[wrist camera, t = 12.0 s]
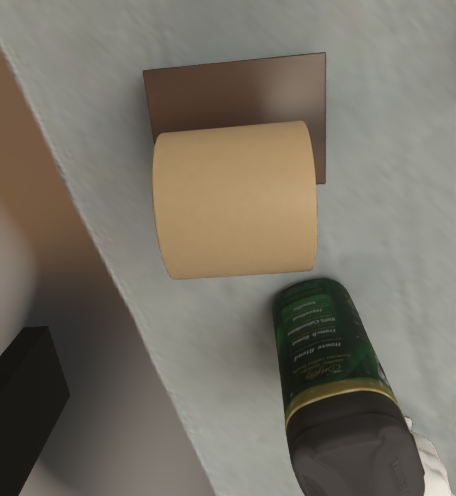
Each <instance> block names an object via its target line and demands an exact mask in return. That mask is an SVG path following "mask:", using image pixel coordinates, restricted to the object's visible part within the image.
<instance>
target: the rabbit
mask: <svg viewBox="0 0 456 496" xmlns="http://www.w3.org/2000/svg"><path fill="white" fill-rule="evenodd" d="M404 418H405V421H406V423H407V425H408V428H409V430H411V428H412V422H411V420H410V419H409V418H407V417H404ZM410 432H411V433H412V434H413V436H414V438H415V442H416V445H417V449H418V452H419V455H420V459H421V462H422V465H423V468H424V471H425V475H424V481H425V492H424V496H455V495H454V494H452V493H451V491H450V487H449V483H448V478H447V471H446V469H445V467H444V465H443V463H442V462H441V460H440V459H439V458H438V457H437V453H436V450H435V448H434V446H433V445H432V443H431V442H430V441H429V440H427V439H426V438H425V437H424V436H422V435H420V434H418V433H416V432H412V431H410Z"/></svg>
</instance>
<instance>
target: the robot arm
mask: <svg viewBox="0 0 456 496" xmlns="http://www.w3.org/2000/svg"><path fill="white" fill-rule="evenodd" d="M69 397H70V393H69V390H68V387H67V384H66V381H65V378H64V375H63V371H62V368H61V365H60V362H59V359H58V356H57V353H56V350H55V346H54V343H53V340H52V337H51V334H50V331H49V328H48V326H42V327H24V328H23V329H22V330H21V331H20V333H19V334H18V335H17V336H16V338H15V339H14V340H13V341H12V342H11V344H10V345H9V346H8V347H7V349H6V350H5V351H4V352H3V353H2V355H1V356H0V496H18V495H19V493H20V492H21V490H22V488H23V486H24V484H25V482H26V480H27V478H28V476H29V474H30V472H31V470H32V468H33V466H34V464H35V463H36V461H37V459H38V457H39V455H40V453H41V451H42V449H43V447H44V445H45V443H46V441H47V439H48V437H49V435H50V433H51V432H52V429H53V428H54V426H55V424H56V422H57V420H58V418H59V416H60V414H61V412H62V410H63V408H64V406H65V404H66V402H67V401H68V399H69Z"/></svg>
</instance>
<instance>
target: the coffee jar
mask: <svg viewBox="0 0 456 496" xmlns="http://www.w3.org/2000/svg"><path fill="white" fill-rule="evenodd" d="M273 322H274V330H275V337H276V345H277V353H278V362H279V371H280V380H281V387H282V397H283V405H284V415H285V431H286V436H287V442H288V448H289V454H290V459H291V464H292V467H293V470H294V473H295V476H296V478H297V481H298V483H299V485H300V488H301V489H302V491H303V493H304V495H305V496H424V492H425V481H424V475H425V471H424V468H423V465H422V462H421V459H420V455H419V452H418V449H417V445H416V442H415V438H414V436H413V434H412V433H411V432H410V430H409V428H408V425H407V423H406V421H405V418H404V416H403V414H402V412H401V409H400V407H399V405H398V403H397V400H396V398H395V396H394V394H393V391H392V389H391V387H390V385H389V382H388V380H387V378H386V376H385V373H384V371H383V369H382V366H381V364H380V362H379V360H378V358H377V356H376V353H375V351H374V349H373V347H372V345H371V343H370V340H369V338H368V336H367V334H366V331H365V329H364V326H363V324H362V321H361V319H360V317H359V314H358V312H357V310H356V308H355V306H354V304H353V301H352V299H351V297H350V295H349V293H348V292H347V290H346V289H345V287H344V286H343V285H341V284H340V283H338V282H336V281H334V280H330V279H316V280H311V281H308V282H304V283H301V284H298V285H295V286H293V287H291V288H289V289H287V290H285V291H284V292H282V293H281V294H280V295H279V296H278V297H277V298H276V300H275V302H274V304H273Z"/></svg>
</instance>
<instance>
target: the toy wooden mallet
mask: <svg viewBox="0 0 456 496" xmlns="http://www.w3.org/2000/svg"><path fill="white" fill-rule="evenodd" d="M152 195H153V209H154V218H155V225H156V232H157V238H158V243H159V247H160V251H161V255H162V259H163V262H164V265H165V267H166V270H167V272H168V274H169V275H170V277H171V278H172V279H174V280H182V279H198V278H213V277H228V276H243V275H258V274H274V273H289V272H304V271H311V270H312V269H313V267H314V264H315V259H316V251H317V232H318V215H317V191H316V178H315V168H314V159H313V152H312V146H311V141H310V136H309V132H308V129H307V126H306V124H305V123H304V122H303V121H292V122H281V123H270V124H258V125H247V126H236V127H225V128H214V129H202V130H191V131H180V132H169V133H161V134H160V135H159V136H158V137H157V140H156V143H155V147H154V153H153V163H152Z"/></svg>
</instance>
